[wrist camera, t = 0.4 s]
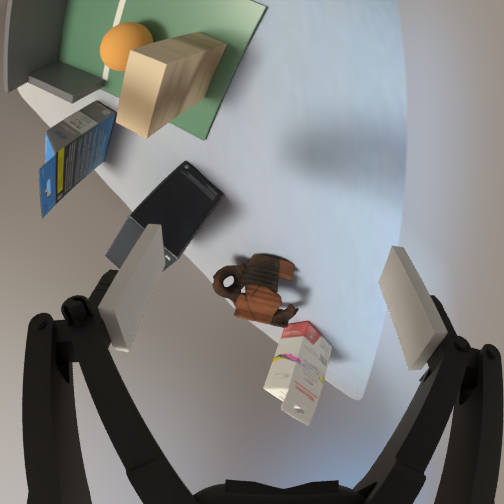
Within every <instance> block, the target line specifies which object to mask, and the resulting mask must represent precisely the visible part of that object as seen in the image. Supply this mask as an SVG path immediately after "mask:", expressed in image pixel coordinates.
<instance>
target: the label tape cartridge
mask: <svg viewBox="0 0 504 504" xmlns="http://www.w3.org/2000/svg"><path fill="white" fill-rule="evenodd" d="M115 116H116V112H114V111H113V110H111V109H110V108H108V107H106V106H105V105H103V104H101V103H100V102H98V101H95V102H93V103H91V104H89V105H87V106H86V107H84V108H82V109H81V110H79V111H77V112H75V113H74V114H72V115H71V116H69V117H67V118H66V119H64V120H63V121H61V122H59V123H58V124H56V125H55V126H53V127H52V128H50V129H49V130H47V131H46V149H45V164H44V165H43V166H42V167H41V168H40V169H39V185H40V186H39V187H40V203H41V215H42V219H43V217H44V216H45V215H46V214H47V213H48V212H49V211H50V210H51V209H52V208H53V206H55V205H56V204H57V203H58V202H59V200H61V199H62V198H63V197H64V196H65V195H66V194H67V193H68V192H69V191H70V190H71V189H72V188H73V187H75V185H77V184H78V183H79V182H80V181H81V180H82V179H84V178H85V177H86V176H87V175H88V174H89V173H90V172H91V171H93V170H94V169H95V168H96V167H97V166H99V165H100V164H101V163H102V162H104V159H105V154H106V150H107V146H108V142H109V138H110V134H111V130H112V127H113V123H114V119H115ZM46 188H48V190H49V193H50V195H49V196H48V197H47V192H46V193H45V190H46Z"/></svg>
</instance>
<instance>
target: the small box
mask: <svg viewBox="0 0 504 504" xmlns="http://www.w3.org/2000/svg"><path fill="white" fill-rule="evenodd" d="M223 197H224V196H223V194H222V193H221V192H220V191H218V190H217V189H216V188H215V187H214V186H213V185H212V184H211V183H209V182H208V181H207V180H206V179H205V178H204V177H203V176H202V175H201V174H200V173H199V172H198V171H197V170H196V169H195V168H193V167H192V166H191V165H190V164H189V163H187V162H186V161H184V162H183V163H182V164H181V165H179V166H178V167H177V168H176V169H175V170H174V171H173V172H172V173H171V174H170V175H168V176H167V177H166V178H165V179H164V180H163V181H162V182H161V183H160V184H159V185H158V186H157V187H156V188H155V189H154V190H153V191H152V192H151V193H150V194H149V195H148V196H147V197H146V198H145V199H144V200H143V201H142V203H141V204H140V205H139V206H138V207H137V208H136V209H135V210H134V211H133V212H132V214H131V215H130V216H129V217H128V219H127V220H126V222H125V224H124V225H123V227H122V228H121V230H120V232H119V233H118V235H117V236H116V238H115V240H114V241H113V243H112V245H111V246H110V248H109V249H108V251H107V253H106V255H105V256H106V257H107V258H108V259H109V260H110V261H111V262H113V263H114V264H115V265H116V266H117V267H118V268H119V269H120V268H121V266H122V265H123V263H124V262H125V260H126V258H127V257H128V255H129V253H130V252H131V250H132V249H133V247H134V245H135V244H136V242H137V241H138V239H139V238H140V236H141V234H142V233H143V231H144V230H145V228H146V227H147V225H148V224H158V225H161V228H162V238H163V248H164V256H165V267H164V269H163V271H164V270H166V269H167V268H168V267H169V266H170V265H172V264H173V263H174V262H175V261H177V260H178V259H179V257H180V256H181V254H182V253H183V252H184V250H185V249H186V247H187V246H188V245H189V243H190V241H191V240H192V239H193V237H194V236H195V235H196V233H197V232H198V230H199V229H200V228H201V226H202V224H203V223H204V222H205V220H206V219H207V218H208V216H209V215H210V214H211V212H212V211H213V210H214V208H215V207H216V206H217V205H218V203H219V202H220V201H221V200H222V198H223ZM163 271H162V272H163Z"/></svg>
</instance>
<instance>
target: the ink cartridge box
mask: <svg viewBox="0 0 504 504" xmlns="http://www.w3.org/2000/svg"><path fill="white" fill-rule="evenodd" d="M331 350H332V346H331V345H330V344H329V343H328V342H327V341H326V340H325V338H324V337H323V336H322V335H321V334H320V333H319V332H318V331H317V330H316V329H315V328H314V327H313V326H312V325H311V324H310V323H309V322H308V321H307V322H301V323H294V324H288V327H284V330H283V333H282V336H281V339H280V342H279V345H278V348H277V351H276V354H275V357H274V359H273V362H272V365H271V368H270V371H269V374H268V377H267V379H266V382H265V385H264V389H265V390H266V391H268V392H269V393H271V394H272V395H274V396H275V397H277V398H278V399H280V400H281V401H283V403H282V406H281V409H282V411H284V412H286V413H287V414H289V415H290V416H292V417H293V418H295V419H297V420H298V421H300V422H303V423H304V424H306V425H307V426H308V425H309V424H310V422H311V419H312V417H313V414H314V412H315V409H316V407H317V404H318V400H319V397H320V393H321V390H322V386H323V382H324V378H325V374H326V370H327V367H328V363H329V359H330V354H331ZM294 408H301V409H302V410H304V413H303V414H301V413H298V414H297V411H296V410H295V409H294Z"/></svg>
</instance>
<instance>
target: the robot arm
mask: <svg viewBox="0 0 504 504" xmlns="http://www.w3.org/2000/svg"><path fill="white" fill-rule="evenodd" d="M164 267H165V256H164V248H163V238H162V228H161V225H158V224H148V225H147V227H146V228H145V230H144V231H143V233H142V234H141V236H140V238H139V239H138V241H137V242H136V244H135V245H134V247H133V249H132V250H131V252H130V253H129V255H128V257H127V258H126V260H125V262H124V263H123V265H122V266H121V268H120V270H109V271H108V272H107V273H105V274H104V275H103V276H102V278H101V279H100V281H99V282H98V285H97V286H96V287H95V290H94V291H93V292H92V294H91V296H90V297H89V299H87V298H86V297H84V296H79V295H76V296H72V297H70V298H68V299H67V300H66V301H65V302H64V303H63V305H62V307H61V312H62V314H63V316H64V318H65V320H55V321H54V320H53V318H52V316H51V315H50V314H48V313H40V314H37V315H36V316H34V317H33V318H32V319H31V321H30V323H29V326H28V333H27V341H26V350H25V361H24V374H23V398H22V400H23V401H22V423H23V446H24V459H25V468H26V477H27V484H28V490H29V493H28V499H27V504H92V502H91V496H90V491H89V487H88V483H87V478H86V474H85V469H84V464H83V459H82V453H81V447H80V441H79V434H78V426H77V419H76V409H75V398H74V385H73V368H72V362H79V363H80V367H81V370H82V372H83V375H84V378H85V381H86V383H87V386H88V389H89V391H90V394H91V396H92V399H93V401H94V404H95V406H96V409H97V411H98V413H99V416H100V418H101V420H102V422H103V425H104V427H105V429H106V431H107V433H108V435H109V437H110V439H111V441H112V443H113V446H114V448H115V449H116V451H117V453H118V455H119V457H120V459H121V461H122V463H123V465H124V467H125V469H126V474H127V476H128V479H129V481H130V482H131V484H132V486H133V487H134V489H135V491H136V493H137V494H138V496H139V497H140V499H141V501H142V502H143V504H413V502H414V500H415V499H416V497H417V495H418V494H419V492H420V490H421V488H422V487H423V485H424V482H425V480H426V476H425V475H424V471H425V469H426V467H427V465H428V464H429V462H430V460H431V458H432V455H433V453H434V451H435V449H436V447H437V445H438V443H439V441H440V438H441V436H442V434H443V431H444V429H445V427H446V424H447V422H448V419H449V417H450V414H451V412H452V409H453V406H454V411H453V418H452V426H451V432H450V438H449V444H448V449H447V454H446V459H445V463H444V468H443V472H442V476H441V480H440V484H439V488H438V492H437V495H436V499H435V502H434V504H494V499H495V493H496V488H497V482H498V475H499V466H500V459H501V448H502V434H503V378H502V364H501V355H500V352H499V351H498V349H497V348H496V347H495V346H493V345H491V344H485V345H484V346H483V348H482V349H481V350H478V349H474V348H471V347H470V344H469V343H468V342H467V340H466V339H464V338H463V337H461V336H457V334H456V332H455V330H454V328H453V326H452V324H451V322H450V320H449V318H448V317H447V314H446V312H445V311H444V308H443V306H442V304H441V302H440V301H439V300H438V299H437V298H436V297H435V296H434V295H429V293H428V291H427V289H426V287H425V285H424V283H423V281H422V279H421V278H420V276H419V274H418V272H417V270H416V269H415V267H414V265H413V263H412V262H411V260H410V258H409V256H408V255H407V253H406V251H405V249H404V248H403V247H397V246H392V248H391V251H390V254H389V256H388V259H387V262H386V264H385V267H384V270H383V272H382V275H381V277H380V280H379V282H378V283H379V286H380V288H381V291H382V293H383V296H384V299H385V301H386V304H387V307H388V309H389V312H390V315H391V317H392V320H393V323H394V326H395V329H396V332H397V335H398V338H399V341H400V344H401V346H402V350H403V353H404V356H405V359H406V363H407V366H408V369H409V370H418V369H422V368H423V366H424V365H425V364H426V362H427V363H428V366H429V369H428V370H427V371H426V372H425V374H424V375H423V376H422V377H421V379H420V380H419V381H421V383H420V385H419V387H418V389H417V391H416V393H415V395H414V398H413V399H412V401H411V403H410V405H409V407H408V409H407V411H406V412H405V414H404V416H403V418H402V420H401V422H400V423H399V425H398V427H397V428H396V430H395V432H394V433H393V435H392V437H391V438H390V440H389V441H388V443H387V445H386V446H385V448H384V449H383V451H382V453H381V454H380V455H379V457H378V459H377V460H376V461H375V463H374V464H373V466H372V467H371V469H370V470H369V472H368V473H367V474H366V476H365V477H364V478H363V479H362V480H361V481H360V482H359V483H358V484H357V485H356V486H355V487H354V488H353V489H350V488H348V487H344V486H341V485H339V482H338V480H336V481H321V482H310V483H306V484H303V485H299V486H295V487H291V488H286V489H281V488H276V487H272V486H268V485H264V484H261V483H257V482H251V481H237V480H226V482H225V484H219V485H214V486H211V487H208V488H205V489H203V490H201V491H199V492H198V493H196V494H194V495H192V494H191V493H190V491H189V490H188V488H187V487H186V486H185V484H184V483H183V481H182V480H181V479H180V477H179V476H178V475H177V473H176V472H175V470H174V469H173V467H172V466H171V464H170V463H169V461H168V460H167V458H166V457H165V455H164V453H163V452H162V450H161V449H160V447H159V445H158V444H157V442H156V441H155V439H154V437H153V436H152V434H151V432H150V431H149V429H148V427H147V426H146V424H145V422H144V420H143V418H142V417H141V415H140V413H139V411H138V409H137V408H136V406H135V404H134V402H133V400H132V398H131V396H130V394H129V393H128V390H127V388H126V386H125V384H124V382H123V380H122V378H121V376H120V374H119V372H118V370H117V367H116V365H115V363H114V361H113V359H112V356H111V354H110V352H109V350H108V348H109V345H110V343H112V345H113V347H114V349H115V350H120V351H125V352H129V351H130V348H131V345H132V343H133V341H134V338H135V335H136V333H137V330H138V328H139V325H140V323H141V320H142V318H143V316H144V313H145V311H146V308H147V306H148V303H149V301H150V299H151V296H152V294H153V292H154V289H155V287H156V285H157V283H158V280H159V278H160V276H161V273H162V271H163V269H164Z"/></svg>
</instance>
